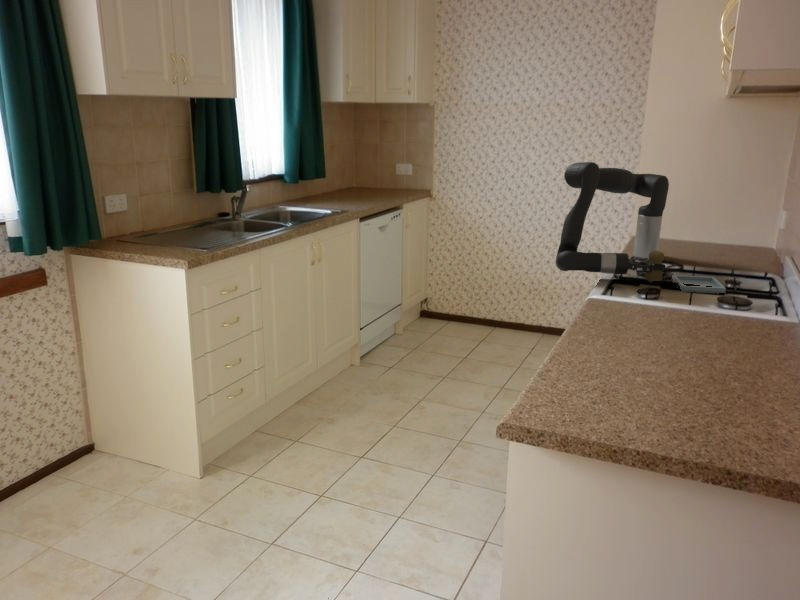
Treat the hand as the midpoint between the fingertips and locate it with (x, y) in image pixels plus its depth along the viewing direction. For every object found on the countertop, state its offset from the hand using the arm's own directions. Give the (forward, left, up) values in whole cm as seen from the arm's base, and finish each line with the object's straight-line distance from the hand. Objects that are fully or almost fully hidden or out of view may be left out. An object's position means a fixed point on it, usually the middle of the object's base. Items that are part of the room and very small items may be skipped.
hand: (663, 265), depth 231 cm
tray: (+4, +11, -6) cm, 13 cm away
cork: (0, -3, -6) cm, 7 cm away
